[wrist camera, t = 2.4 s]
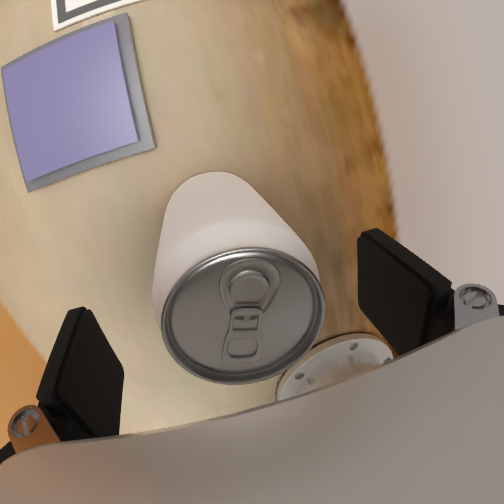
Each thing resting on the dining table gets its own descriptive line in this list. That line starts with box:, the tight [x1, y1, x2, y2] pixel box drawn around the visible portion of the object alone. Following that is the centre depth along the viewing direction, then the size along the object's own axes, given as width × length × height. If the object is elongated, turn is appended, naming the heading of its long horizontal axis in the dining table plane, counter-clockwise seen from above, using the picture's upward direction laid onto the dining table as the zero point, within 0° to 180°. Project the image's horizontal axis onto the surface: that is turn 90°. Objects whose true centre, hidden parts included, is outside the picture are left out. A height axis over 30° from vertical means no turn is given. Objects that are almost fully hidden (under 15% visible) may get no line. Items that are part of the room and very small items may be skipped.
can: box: [152, 172, 326, 385], centre depth 16 cm, size 6×6×12 cm
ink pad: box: [1, 12, 157, 193], centre depth 15 cm, size 9×9×2 cm
